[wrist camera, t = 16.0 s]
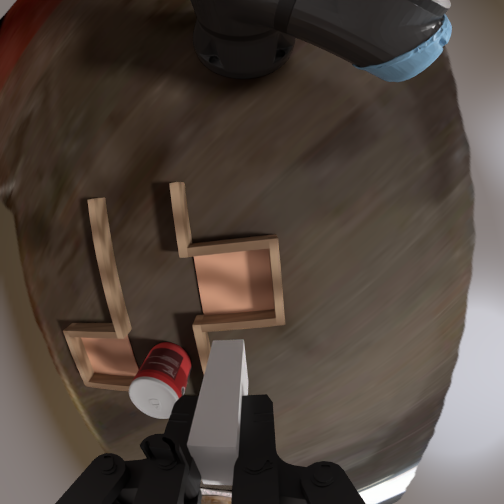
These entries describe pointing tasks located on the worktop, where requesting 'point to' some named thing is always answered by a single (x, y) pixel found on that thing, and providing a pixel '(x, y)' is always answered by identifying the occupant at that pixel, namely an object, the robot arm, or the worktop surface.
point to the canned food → (161, 380)
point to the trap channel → (210, 286)
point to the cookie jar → (215, 496)
